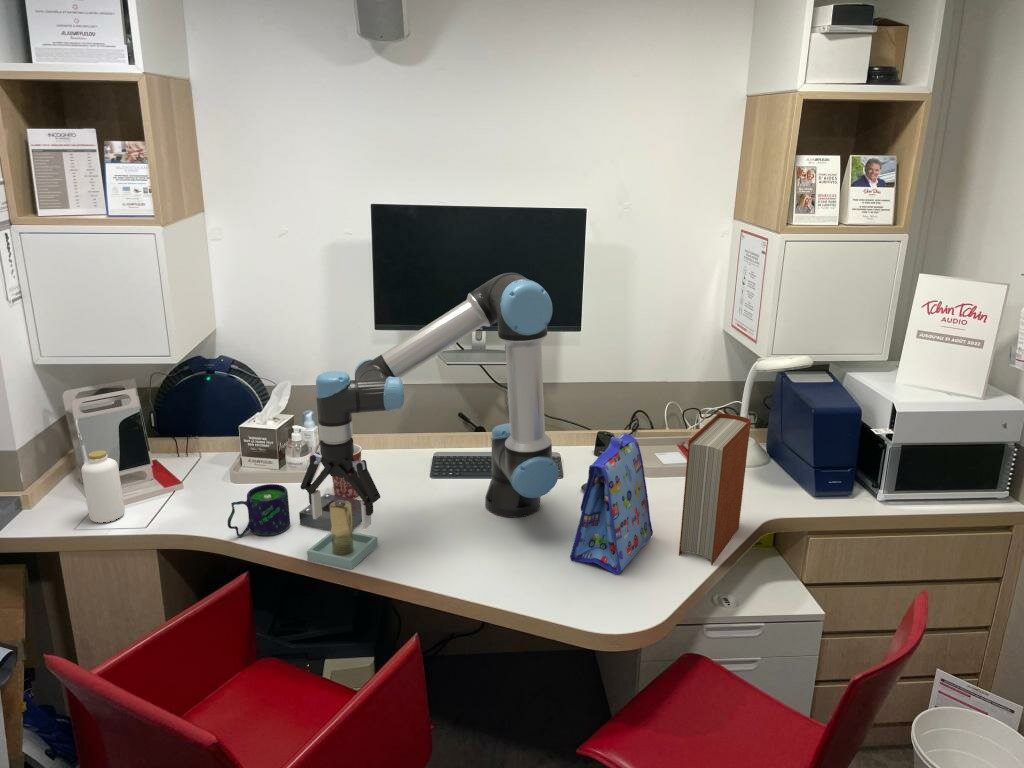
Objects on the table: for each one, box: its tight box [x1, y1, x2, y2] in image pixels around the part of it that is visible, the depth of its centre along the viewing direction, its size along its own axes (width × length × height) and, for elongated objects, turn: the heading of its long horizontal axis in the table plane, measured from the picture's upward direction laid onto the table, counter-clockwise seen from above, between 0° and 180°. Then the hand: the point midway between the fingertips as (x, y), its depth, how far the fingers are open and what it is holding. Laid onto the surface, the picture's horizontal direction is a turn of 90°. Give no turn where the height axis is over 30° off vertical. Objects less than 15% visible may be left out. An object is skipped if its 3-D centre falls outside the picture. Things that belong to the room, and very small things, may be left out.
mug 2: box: [331, 443, 363, 499], centre depth 216 cm, size 13×9×14 cm
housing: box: [298, 492, 363, 532], centre depth 201 cm, size 14×12×4 cm
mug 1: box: [227, 483, 291, 538], centre depth 195 cm, size 15×10×10 cm, turn 118°
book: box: [678, 413, 752, 566], centre depth 189 cm, size 23×8×30 cm, turn 148°
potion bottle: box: [81, 450, 126, 524], centre depth 199 cm, size 8×8×18 cm
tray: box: [306, 531, 379, 571], centre depth 186 cm, size 12×12×2 cm
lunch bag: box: [569, 433, 654, 575], centre depth 185 cm, size 22×14×29 cm, turn 150°
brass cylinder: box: [330, 500, 354, 556], centre depth 184 cm, size 5×5×13 cm
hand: (341, 521), depth 183 cm, fingers open, 13 cm apart
